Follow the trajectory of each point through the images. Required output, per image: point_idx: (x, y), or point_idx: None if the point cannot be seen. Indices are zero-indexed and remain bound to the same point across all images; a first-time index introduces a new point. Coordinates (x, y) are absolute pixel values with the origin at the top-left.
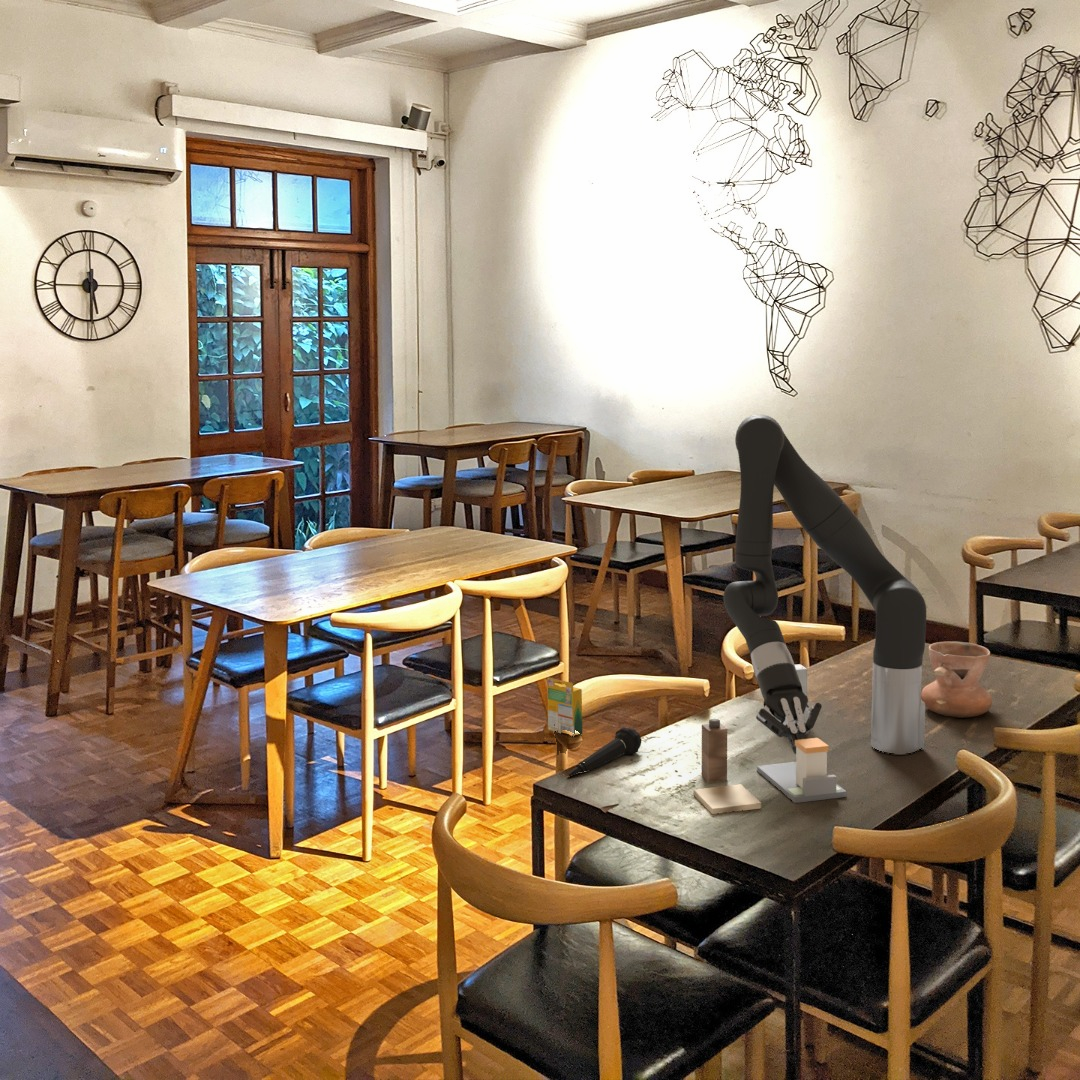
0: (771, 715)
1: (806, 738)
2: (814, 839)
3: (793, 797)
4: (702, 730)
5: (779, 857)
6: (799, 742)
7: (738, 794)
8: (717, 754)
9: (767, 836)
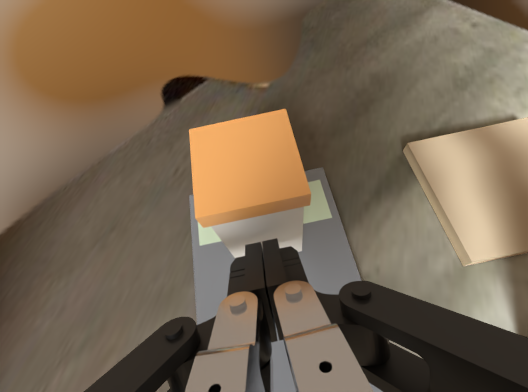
0: (508, 375)
1: (231, 288)
2: (314, 47)
3: (324, 172)
4: None
5: (378, 5)
6: (296, 164)
7: (470, 190)
8: None
9: (393, 53)
